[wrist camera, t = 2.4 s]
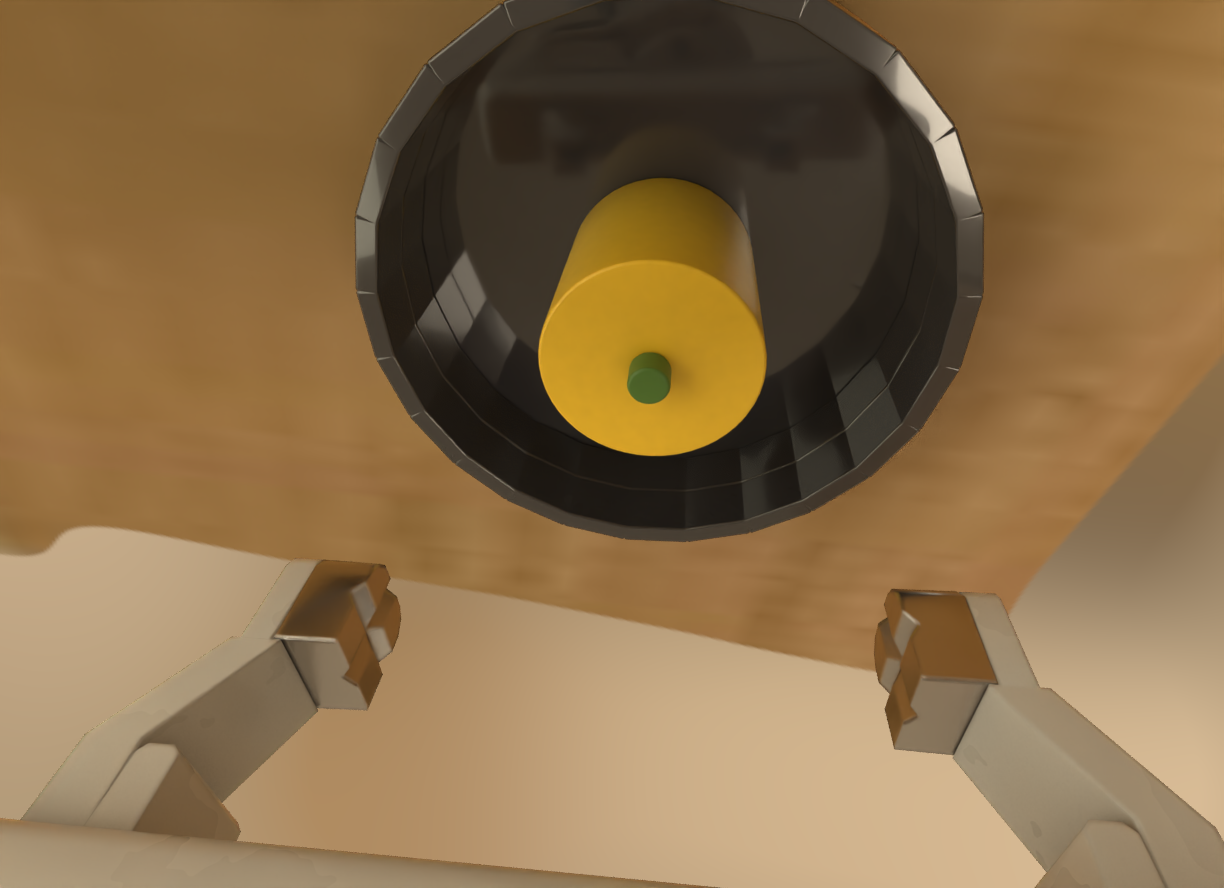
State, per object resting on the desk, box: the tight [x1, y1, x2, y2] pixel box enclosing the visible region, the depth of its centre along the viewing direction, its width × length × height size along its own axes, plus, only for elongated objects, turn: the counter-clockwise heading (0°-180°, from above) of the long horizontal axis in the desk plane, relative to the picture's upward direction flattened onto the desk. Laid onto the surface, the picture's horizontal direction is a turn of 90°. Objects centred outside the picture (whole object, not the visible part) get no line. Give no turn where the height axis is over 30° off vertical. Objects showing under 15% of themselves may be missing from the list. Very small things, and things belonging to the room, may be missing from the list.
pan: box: [355, 0, 984, 542], centre depth 19 cm, size 16×16×4 cm
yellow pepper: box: [538, 178, 767, 456], centre depth 18 cm, size 5×5×6 cm
